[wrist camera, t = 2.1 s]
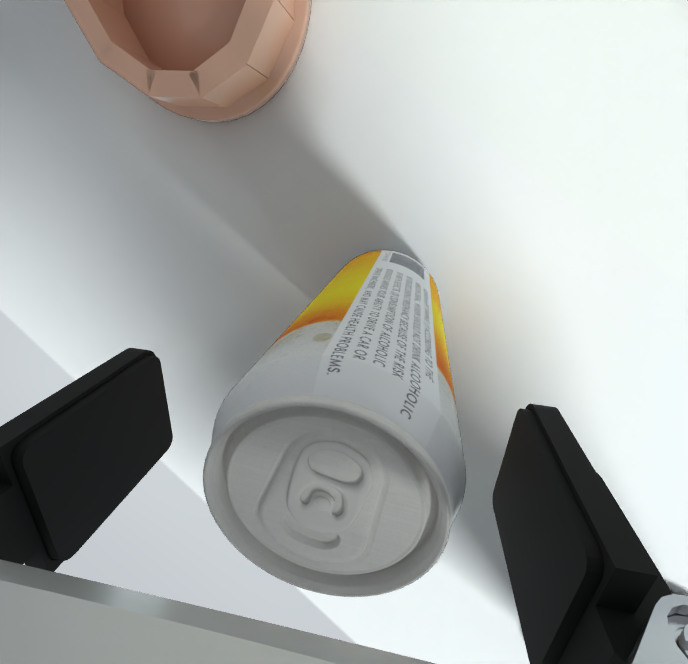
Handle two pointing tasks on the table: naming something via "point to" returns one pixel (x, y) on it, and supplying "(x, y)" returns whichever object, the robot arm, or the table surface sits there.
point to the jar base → (198, 49)
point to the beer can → (345, 438)
